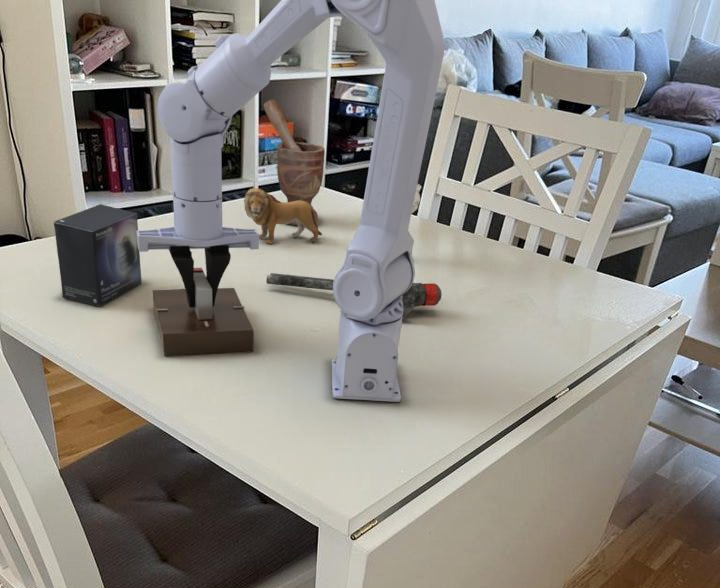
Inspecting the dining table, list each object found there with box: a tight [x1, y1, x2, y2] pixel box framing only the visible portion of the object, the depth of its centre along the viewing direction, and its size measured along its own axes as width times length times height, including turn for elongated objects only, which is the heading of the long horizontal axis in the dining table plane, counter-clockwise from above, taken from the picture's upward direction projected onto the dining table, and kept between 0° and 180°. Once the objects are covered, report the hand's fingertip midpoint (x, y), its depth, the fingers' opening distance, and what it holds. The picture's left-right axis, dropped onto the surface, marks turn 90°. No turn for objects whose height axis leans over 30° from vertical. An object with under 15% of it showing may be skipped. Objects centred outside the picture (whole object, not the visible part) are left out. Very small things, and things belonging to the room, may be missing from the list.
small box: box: [53, 203, 142, 307], centre depth 104 cm, size 11×6×10 cm, turn 161°
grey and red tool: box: [266, 272, 443, 320], centre depth 113 cm, size 6×26×15 cm
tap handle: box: [193, 267, 213, 320], centre depth 96 cm, size 7×2×4 cm, turn 19°
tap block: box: [151, 287, 255, 357], centre depth 98 cm, size 14×11×3 cm
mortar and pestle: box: [263, 98, 326, 226], centre depth 137 cm, size 12×9×20 cm
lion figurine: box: [243, 187, 323, 245], centre depth 129 cm, size 15×5×9 cm, turn 118°
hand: (201, 304), depth 97 cm, fingers closed on tap handle, 2 cm apart
